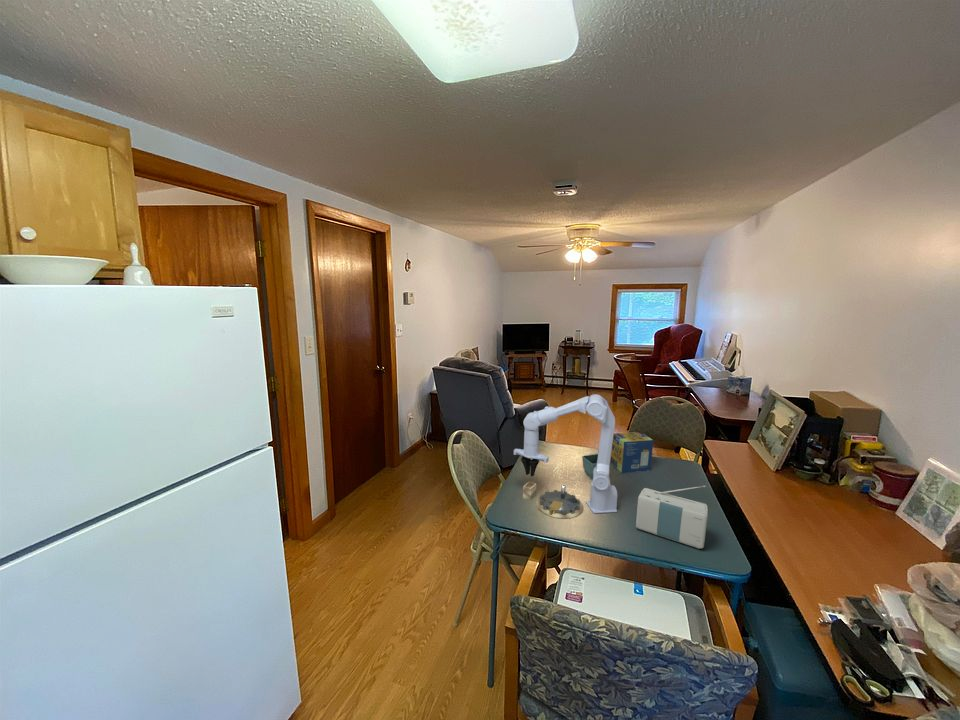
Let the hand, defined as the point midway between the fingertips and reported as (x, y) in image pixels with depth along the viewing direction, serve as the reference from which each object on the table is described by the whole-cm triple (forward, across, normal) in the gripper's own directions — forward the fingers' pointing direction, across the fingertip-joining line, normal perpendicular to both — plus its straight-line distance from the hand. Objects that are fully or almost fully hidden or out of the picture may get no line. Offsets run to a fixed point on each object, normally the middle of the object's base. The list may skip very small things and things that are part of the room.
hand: (530, 474), depth 157 cm
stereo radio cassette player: (+10, -52, -4) cm, 53 cm away
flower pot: (+10, -17, -31) cm, 37 cm away
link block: (+10, 0, 0) cm, 10 cm away
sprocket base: (+9, -13, 0) cm, 16 cm away
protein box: (+10, -28, -51) cm, 59 cm away
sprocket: (+9, -13, 0) cm, 16 cm away
